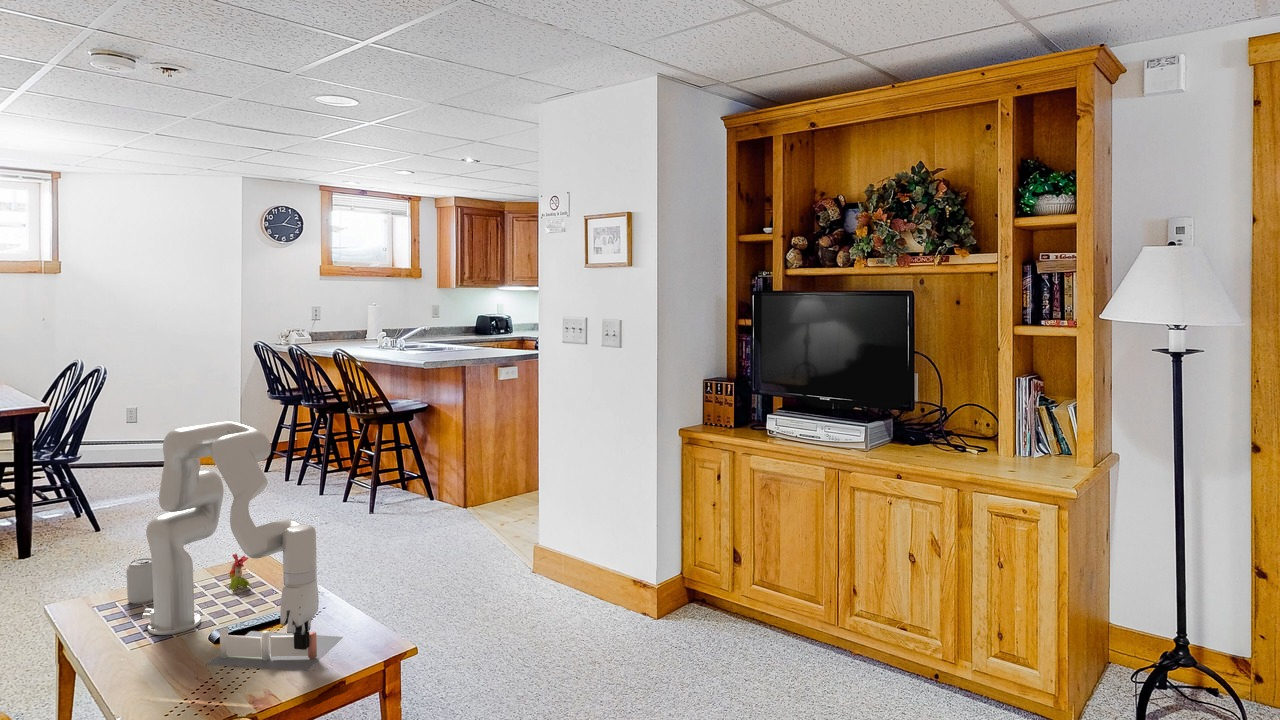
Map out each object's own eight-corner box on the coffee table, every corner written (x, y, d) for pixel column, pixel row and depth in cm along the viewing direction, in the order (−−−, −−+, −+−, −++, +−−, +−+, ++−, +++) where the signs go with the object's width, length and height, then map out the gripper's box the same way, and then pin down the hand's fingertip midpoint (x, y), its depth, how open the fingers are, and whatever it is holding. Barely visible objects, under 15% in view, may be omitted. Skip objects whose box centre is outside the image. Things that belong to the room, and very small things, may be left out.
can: (147, 605, 227) (145, 565, 226) (121, 604, 228) (120, 564, 226) (163, 595, 235) (161, 556, 234) (138, 594, 235) (137, 556, 234)
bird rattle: (223, 594, 242) (231, 590, 236) (217, 558, 244) (226, 554, 238) (244, 589, 246) (253, 585, 240) (239, 554, 248) (248, 549, 242)
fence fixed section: (218, 657, 195) (218, 630, 195) (223, 654, 197) (222, 627, 197) (267, 661, 194) (266, 634, 194) (271, 657, 196) (270, 630, 195)
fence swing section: (269, 659, 194) (269, 635, 194) (273, 655, 196) (272, 632, 196) (315, 658, 195) (314, 635, 195) (317, 654, 197) (317, 631, 197)
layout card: (205, 666, 192) (205, 664, 192) (251, 633, 211) (250, 630, 211) (306, 673, 190) (306, 670, 190) (343, 639, 208) (343, 636, 208)
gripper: (302, 564, 199) (303, 633, 201) (268, 586, 184) (270, 661, 186) (330, 566, 198) (331, 635, 200) (297, 588, 184) (299, 663, 185)
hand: (301, 647), depth 193 cm, fingers closed
